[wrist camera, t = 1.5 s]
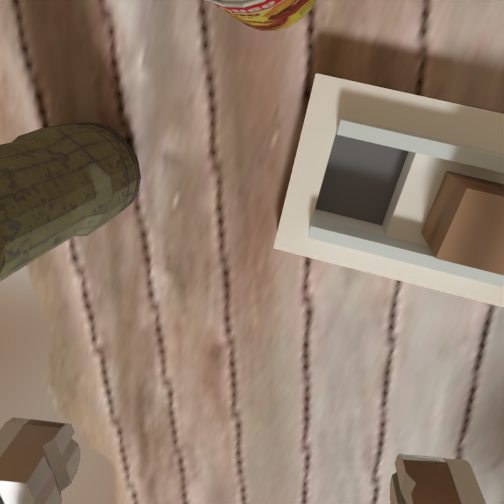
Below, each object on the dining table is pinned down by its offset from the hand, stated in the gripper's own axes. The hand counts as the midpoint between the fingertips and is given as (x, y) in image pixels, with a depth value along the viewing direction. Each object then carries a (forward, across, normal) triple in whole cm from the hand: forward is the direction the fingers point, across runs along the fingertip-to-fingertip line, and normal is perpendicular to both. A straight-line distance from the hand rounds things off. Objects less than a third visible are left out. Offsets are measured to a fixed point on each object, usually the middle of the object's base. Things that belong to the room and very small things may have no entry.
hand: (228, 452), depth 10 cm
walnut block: (+24, +14, -2) cm, 28 cm away
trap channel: (+26, +13, -3) cm, 30 cm away
